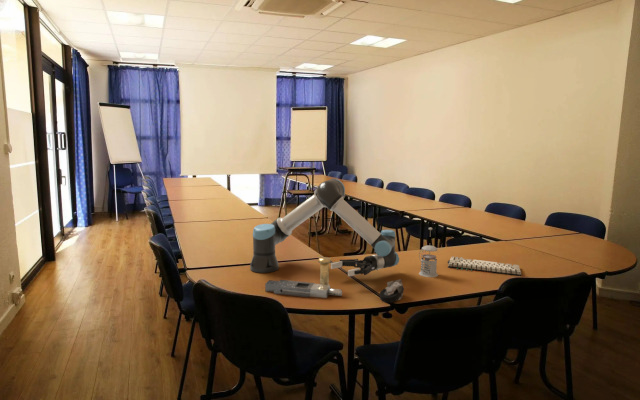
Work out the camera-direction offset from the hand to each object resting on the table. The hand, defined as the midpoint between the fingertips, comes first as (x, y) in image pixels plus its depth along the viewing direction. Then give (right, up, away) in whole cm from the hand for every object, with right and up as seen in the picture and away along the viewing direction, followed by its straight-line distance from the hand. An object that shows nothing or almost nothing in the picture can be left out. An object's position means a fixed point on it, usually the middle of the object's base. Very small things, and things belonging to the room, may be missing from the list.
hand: (339, 269), depth 197 cm
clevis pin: (-7, -8, -4) cm, 11 cm away
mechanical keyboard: (+81, -5, +30) cm, 86 cm away
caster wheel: (+22, -10, -17) cm, 30 cm away
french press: (+47, -5, +19) cm, 51 cm away
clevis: (-17, -9, -10) cm, 22 cm away
